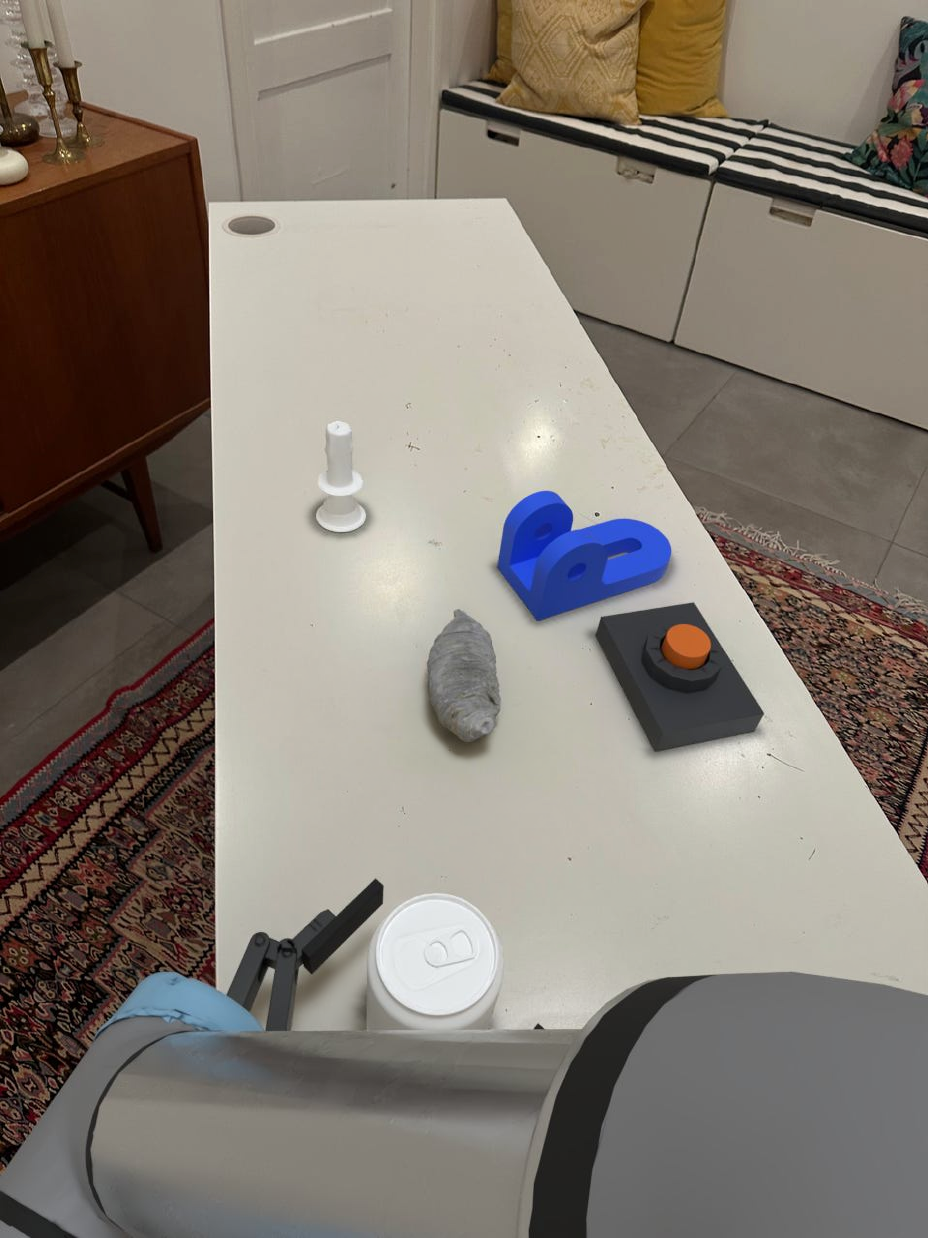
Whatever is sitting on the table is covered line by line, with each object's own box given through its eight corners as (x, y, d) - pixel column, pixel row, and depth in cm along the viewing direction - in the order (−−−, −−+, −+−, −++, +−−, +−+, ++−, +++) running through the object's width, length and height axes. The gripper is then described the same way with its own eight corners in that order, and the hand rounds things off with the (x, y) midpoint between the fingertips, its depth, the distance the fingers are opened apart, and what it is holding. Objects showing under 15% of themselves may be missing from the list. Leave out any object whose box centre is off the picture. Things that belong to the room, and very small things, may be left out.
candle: (348, 539, 91) (347, 445, 83) (306, 521, 93) (300, 426, 84) (375, 512, 95) (376, 418, 86) (333, 495, 96) (331, 401, 88)
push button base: (754, 731, 78) (771, 700, 75) (654, 751, 76) (668, 721, 73) (686, 620, 87) (699, 589, 84) (595, 635, 85) (604, 603, 82)
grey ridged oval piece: (497, 611, 82) (491, 578, 75) (506, 753, 77) (500, 733, 70) (431, 616, 83) (418, 584, 75) (435, 757, 78) (421, 738, 70)
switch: (713, 666, 78) (718, 653, 77) (673, 673, 77) (678, 660, 76) (693, 633, 81) (698, 620, 79) (654, 640, 80) (659, 627, 78)
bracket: (537, 621, 86) (551, 553, 79) (497, 567, 90) (507, 499, 84) (681, 573, 92) (706, 507, 86) (637, 525, 97) (656, 460, 91)
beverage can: (352, 985, 60) (350, 909, 51) (461, 948, 63) (476, 868, 54) (387, 1108, 55) (392, 1046, 46) (504, 1062, 58) (529, 995, 49)
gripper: (57, 1106, 51) (322, 864, 63) (355, 1495, 41) (603, 1121, 53) (21, 1066, 46) (319, 810, 58) (353, 1503, 36) (631, 1085, 48)
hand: (456, 959), depth 56 cm, fingers open, 13 cm apart
